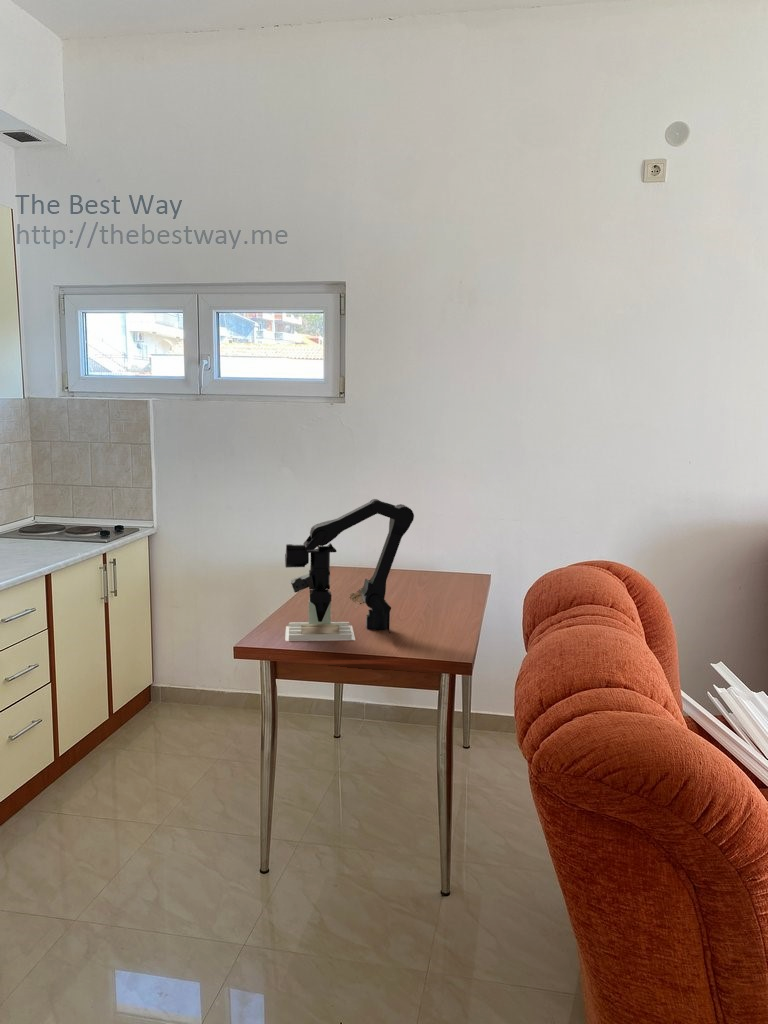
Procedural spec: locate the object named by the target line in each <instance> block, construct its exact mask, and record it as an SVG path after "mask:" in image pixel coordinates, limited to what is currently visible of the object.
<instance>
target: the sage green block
mask: <svg viewBox="0 0 768 1024" xmlns="http://www.w3.org/2000/svg"><path fill="white" fill-rule="evenodd" d="M331 603H332V601H331V602H330V604H329V606H328V608H327V611H326V613H325V615H324V618H323V620H322V622H318V618H317V613H316V608H315V605H314V604H313V603H311V602H310V598H308V622H309V624H331V622H332V620H331V613H332V612H331V611H332V610H331V609H332V604H331Z"/></svg>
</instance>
